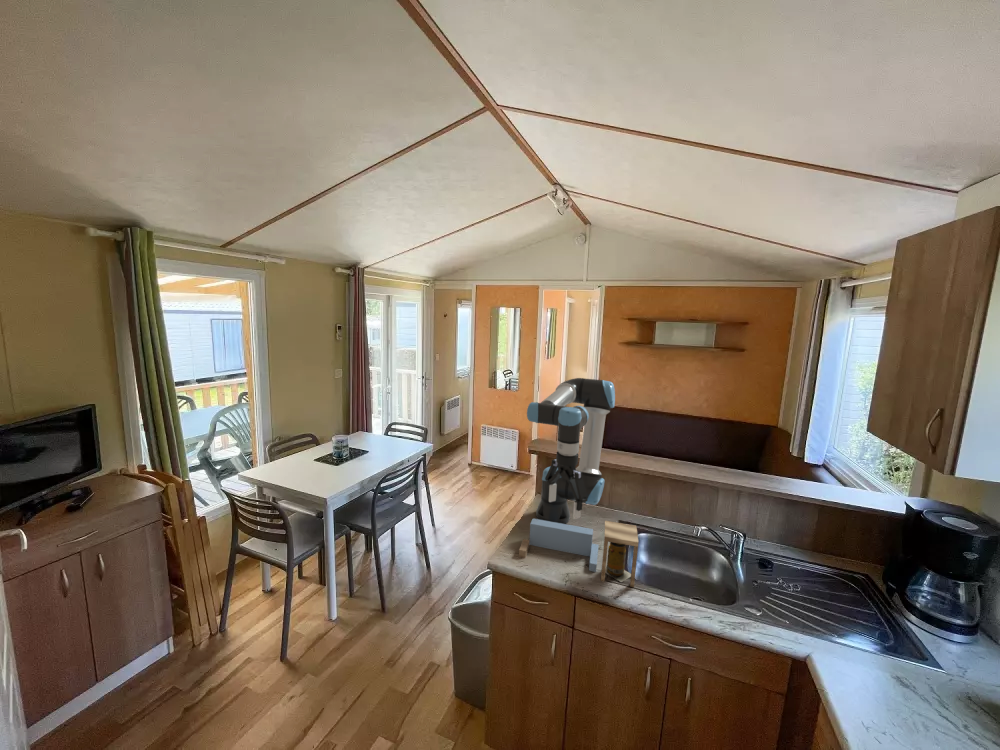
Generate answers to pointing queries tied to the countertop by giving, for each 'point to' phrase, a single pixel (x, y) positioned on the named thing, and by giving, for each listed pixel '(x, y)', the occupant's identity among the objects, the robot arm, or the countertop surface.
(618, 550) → the condiment
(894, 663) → the countertop surface
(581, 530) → the crook
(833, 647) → the countertop surface
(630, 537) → the shelf
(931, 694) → the countertop surface
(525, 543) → the wooden block
